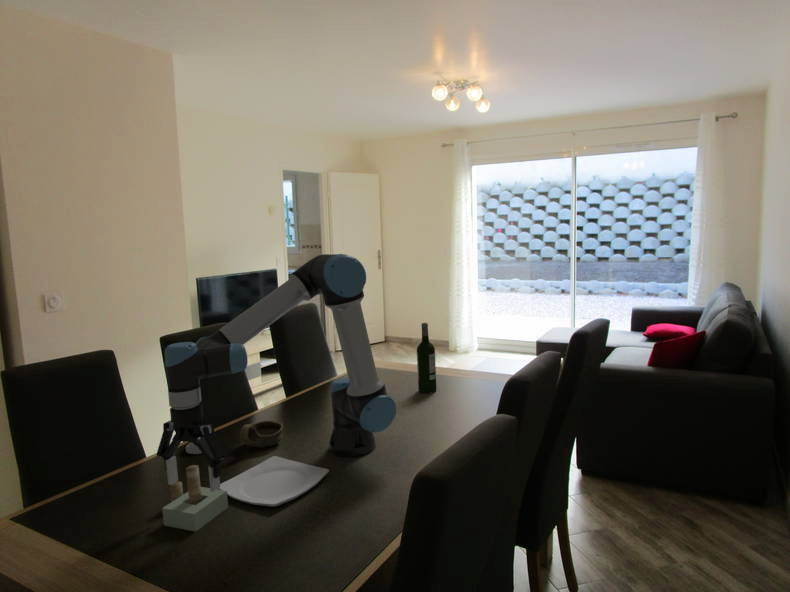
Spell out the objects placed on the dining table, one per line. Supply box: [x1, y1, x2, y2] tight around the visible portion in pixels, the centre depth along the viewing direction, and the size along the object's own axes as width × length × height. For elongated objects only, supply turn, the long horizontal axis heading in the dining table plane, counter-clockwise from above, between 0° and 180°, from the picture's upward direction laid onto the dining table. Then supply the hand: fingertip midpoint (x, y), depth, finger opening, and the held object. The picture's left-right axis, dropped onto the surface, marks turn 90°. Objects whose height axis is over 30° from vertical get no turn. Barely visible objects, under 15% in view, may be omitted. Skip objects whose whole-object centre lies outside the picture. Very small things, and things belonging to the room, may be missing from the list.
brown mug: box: [239, 420, 284, 448], centre depth 179 cm, size 14×18×10 cm
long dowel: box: [185, 464, 202, 505], centre depth 135 cm, size 3×3×13 cm
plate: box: [218, 455, 330, 508], centre depth 151 cm, size 24×24×3 cm
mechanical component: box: [185, 437, 203, 455], centre depth 181 cm, size 10×4×10 cm
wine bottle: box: [416, 322, 437, 394], centre depth 232 cm, size 8×8×30 cm
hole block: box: [161, 486, 229, 532], centre depth 136 cm, size 10×12×4 cm
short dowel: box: [169, 480, 184, 502], centre depth 142 cm, size 3×3×6 cm
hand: (194, 486), depth 135 cm, fingers open, 13 cm apart
